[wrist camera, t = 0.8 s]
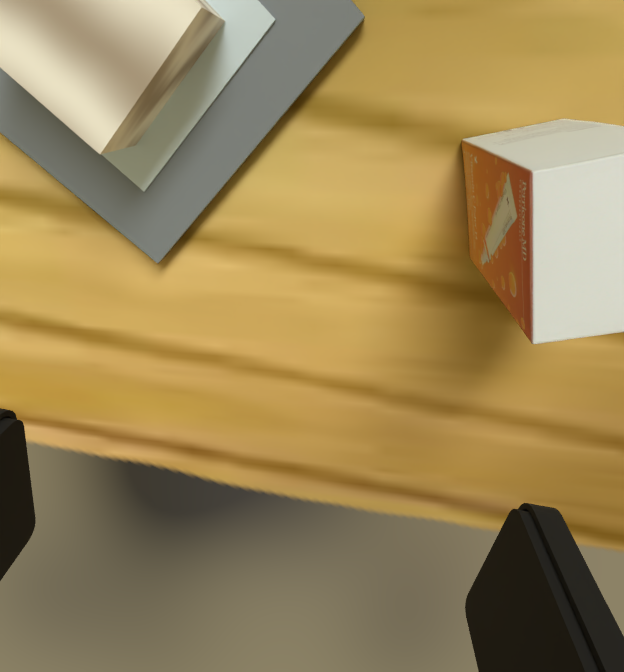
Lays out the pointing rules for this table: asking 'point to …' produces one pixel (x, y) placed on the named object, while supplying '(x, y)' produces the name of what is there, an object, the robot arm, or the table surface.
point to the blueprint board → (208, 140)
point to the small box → (550, 225)
